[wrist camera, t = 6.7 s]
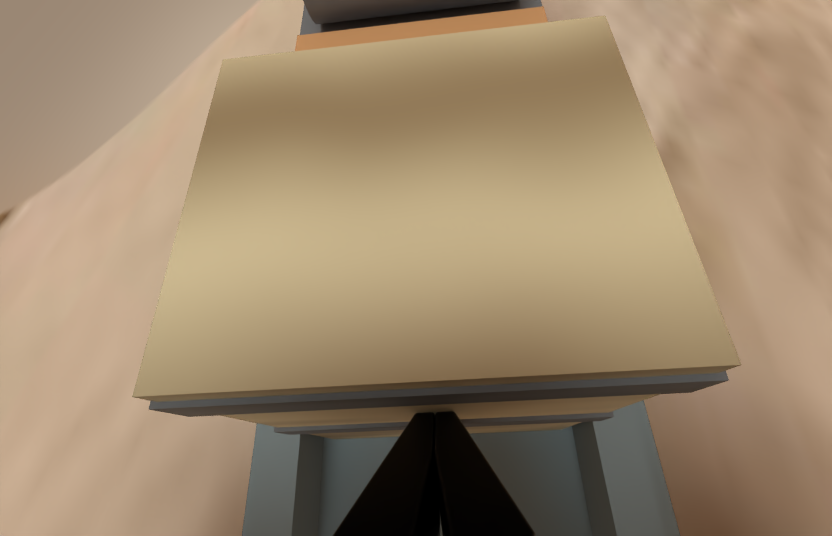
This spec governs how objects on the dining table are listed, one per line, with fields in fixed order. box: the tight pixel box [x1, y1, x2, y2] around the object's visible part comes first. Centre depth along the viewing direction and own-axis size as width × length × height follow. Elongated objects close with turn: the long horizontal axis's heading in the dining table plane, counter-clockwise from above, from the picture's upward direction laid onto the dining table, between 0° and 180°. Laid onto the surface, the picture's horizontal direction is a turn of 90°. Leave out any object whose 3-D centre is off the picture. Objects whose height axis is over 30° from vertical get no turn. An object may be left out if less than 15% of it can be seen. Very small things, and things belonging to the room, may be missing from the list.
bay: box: [242, 0, 680, 536], centre depth 14 cm, size 29×15×10 cm, turn 2°
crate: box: [132, 16, 741, 439], centre depth 11 cm, size 7×8×10 cm
